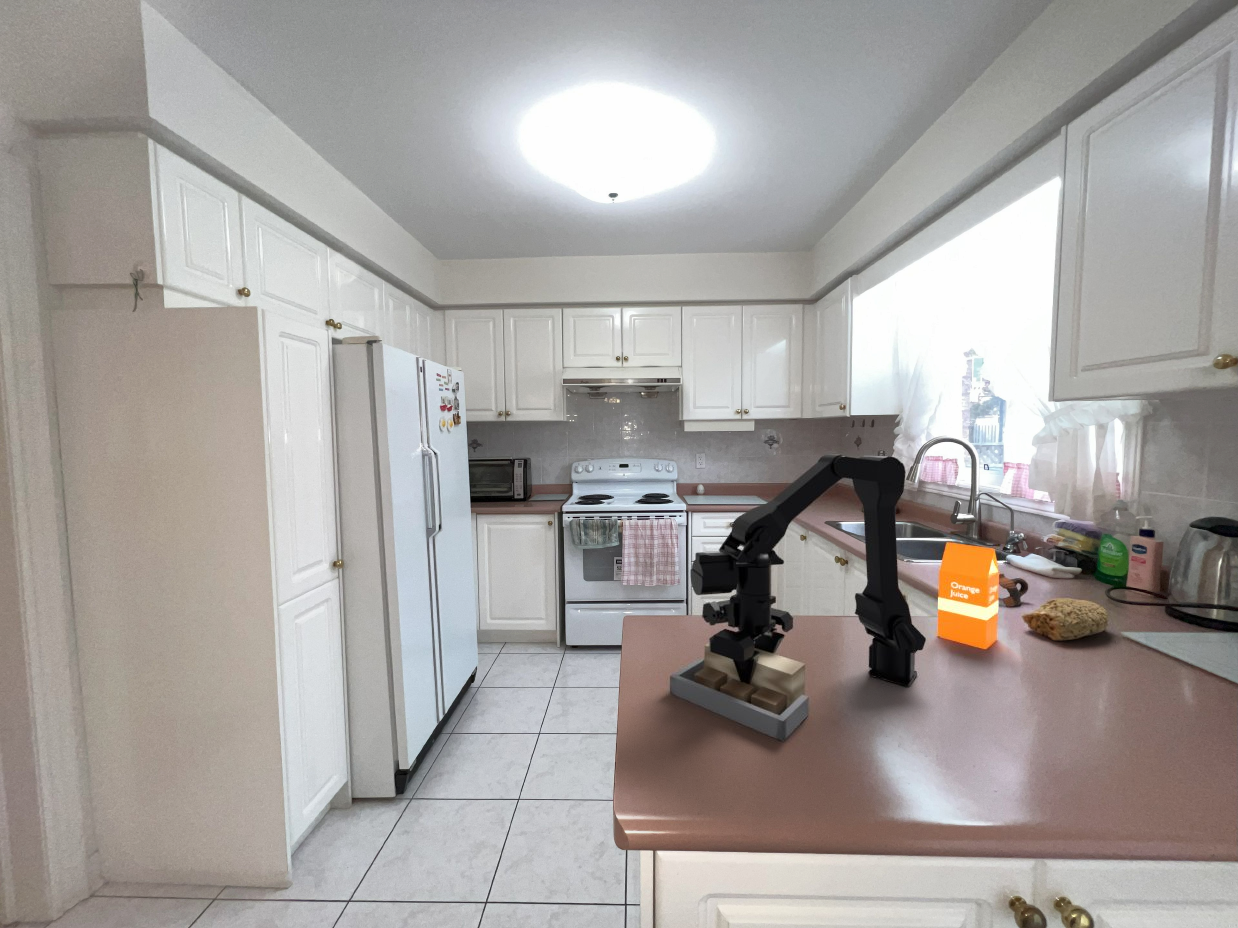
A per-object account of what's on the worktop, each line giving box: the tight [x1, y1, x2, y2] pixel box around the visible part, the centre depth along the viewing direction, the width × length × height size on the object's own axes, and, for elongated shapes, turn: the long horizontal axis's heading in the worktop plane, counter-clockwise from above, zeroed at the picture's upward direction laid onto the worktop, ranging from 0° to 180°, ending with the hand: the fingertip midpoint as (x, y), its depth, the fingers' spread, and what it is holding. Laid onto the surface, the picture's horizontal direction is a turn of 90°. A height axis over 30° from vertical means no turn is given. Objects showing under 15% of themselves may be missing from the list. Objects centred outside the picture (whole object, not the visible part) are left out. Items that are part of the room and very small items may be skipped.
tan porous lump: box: [1021, 597, 1110, 642], centre depth 110 cm, size 13×8×20 cm
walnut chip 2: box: [751, 687, 787, 716], centre depth 78 cm, size 4×4×3 cm
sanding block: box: [703, 642, 806, 708], centre depth 84 cm, size 16×5×6 cm, turn 47°
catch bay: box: [669, 658, 810, 742], centre depth 80 cm, size 20×9×3 cm, turn 47°
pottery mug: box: [999, 573, 1029, 608], centre depth 130 cm, size 12×10×8 cm
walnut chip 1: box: [694, 666, 727, 692], centre depth 85 cm, size 4×4×3 cm
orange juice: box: [937, 541, 1000, 650], centre depth 106 cm, size 8×9×20 cm
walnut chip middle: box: [720, 679, 755, 704], centre depth 80 cm, size 4×4×3 cm
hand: (753, 680), depth 84 cm, fingers closed on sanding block, 5 cm apart
